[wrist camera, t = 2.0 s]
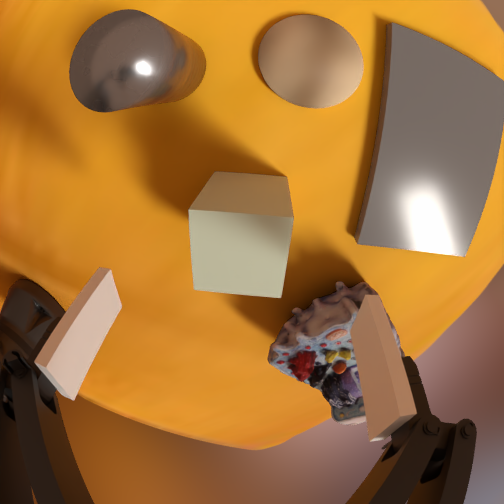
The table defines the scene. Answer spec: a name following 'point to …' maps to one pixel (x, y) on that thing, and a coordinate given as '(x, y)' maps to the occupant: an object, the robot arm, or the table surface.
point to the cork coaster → (310, 61)
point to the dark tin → (134, 63)
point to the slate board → (431, 147)
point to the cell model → (327, 350)
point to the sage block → (241, 234)
